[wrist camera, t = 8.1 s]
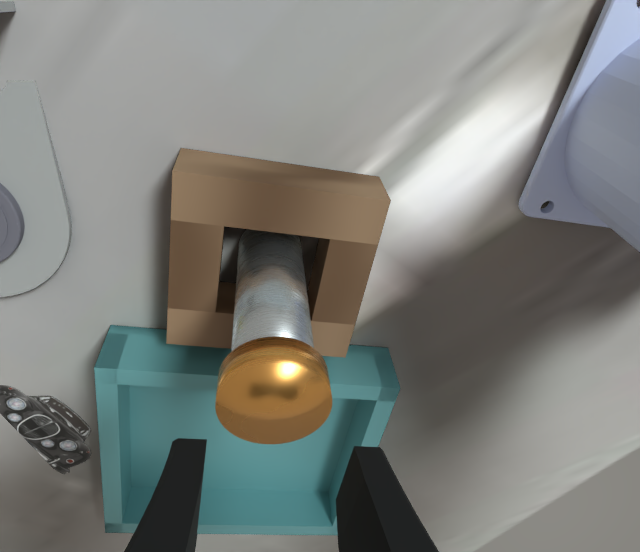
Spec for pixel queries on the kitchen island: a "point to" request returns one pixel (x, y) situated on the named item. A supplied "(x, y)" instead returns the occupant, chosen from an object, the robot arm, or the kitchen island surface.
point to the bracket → (28, 191)
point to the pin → (272, 347)
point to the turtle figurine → (47, 427)
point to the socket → (272, 216)
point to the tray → (228, 436)
